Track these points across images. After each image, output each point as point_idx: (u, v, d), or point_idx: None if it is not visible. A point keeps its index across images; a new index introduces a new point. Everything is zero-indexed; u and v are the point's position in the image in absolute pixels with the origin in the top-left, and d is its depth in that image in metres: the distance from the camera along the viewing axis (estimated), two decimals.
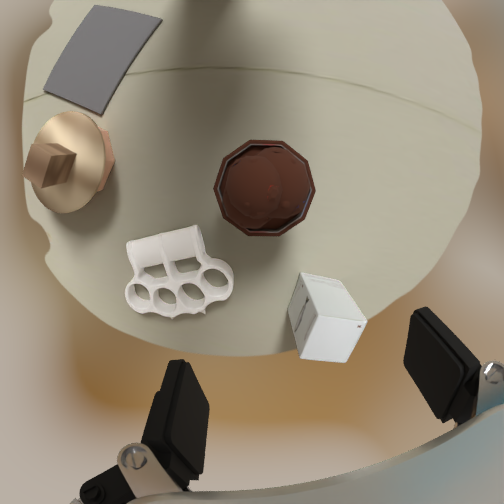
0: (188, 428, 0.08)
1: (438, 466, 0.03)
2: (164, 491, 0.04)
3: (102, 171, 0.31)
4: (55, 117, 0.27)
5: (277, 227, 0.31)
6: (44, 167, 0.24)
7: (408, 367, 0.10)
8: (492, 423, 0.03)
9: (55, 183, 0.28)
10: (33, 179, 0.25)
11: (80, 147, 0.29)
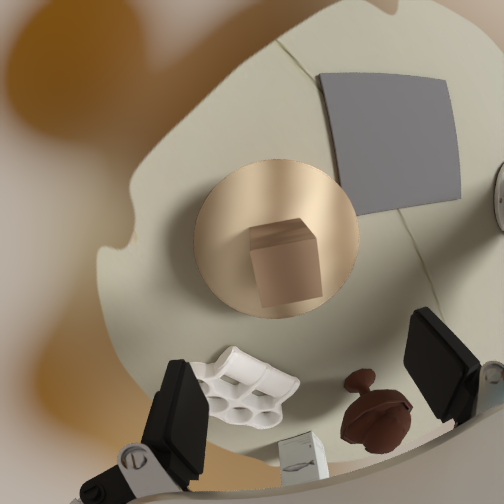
0: (188, 428, 0.08)
1: (438, 466, 0.03)
2: (164, 491, 0.04)
3: None
4: (332, 183, 0.22)
5: None
6: (296, 294, 0.19)
7: (408, 367, 0.10)
8: (492, 423, 0.03)
9: None
10: (263, 285, 0.18)
11: None
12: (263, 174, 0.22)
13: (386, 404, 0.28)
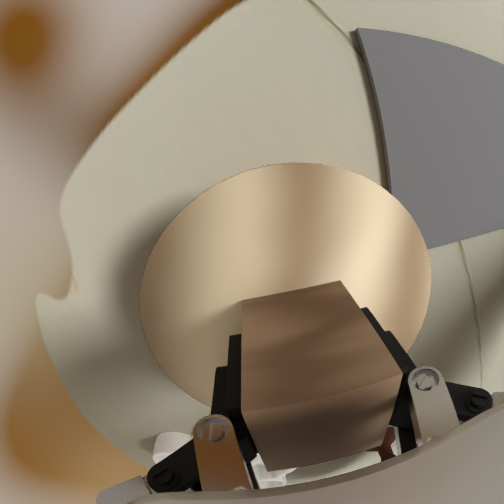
0: None
1: (439, 466, 0.03)
2: (230, 470, 0.05)
3: None
4: (401, 213, 0.11)
5: None
6: (336, 453, 0.07)
7: None
8: (492, 423, 0.03)
9: None
10: (272, 451, 0.07)
11: None
12: (271, 195, 0.10)
13: None
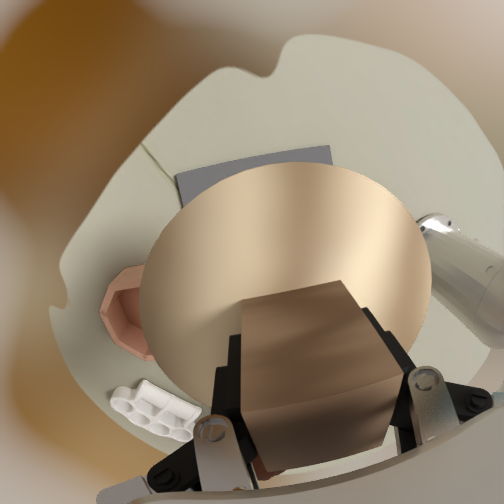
0: None
1: (439, 466, 0.03)
2: (230, 470, 0.05)
3: None
4: (401, 212, 0.11)
5: None
6: (336, 453, 0.07)
7: None
8: (492, 423, 0.03)
9: None
10: (272, 452, 0.07)
11: None
12: (270, 194, 0.10)
13: None
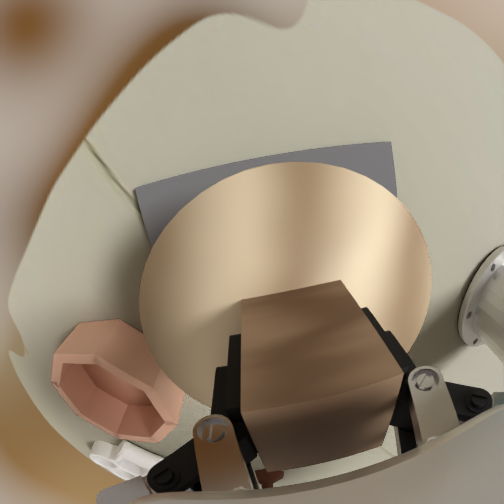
0: None
1: (438, 466, 0.03)
2: (230, 470, 0.05)
3: None
4: (402, 212, 0.11)
5: None
6: (336, 453, 0.07)
7: None
8: (492, 423, 0.03)
9: None
10: (272, 452, 0.07)
11: None
12: (270, 194, 0.10)
13: None
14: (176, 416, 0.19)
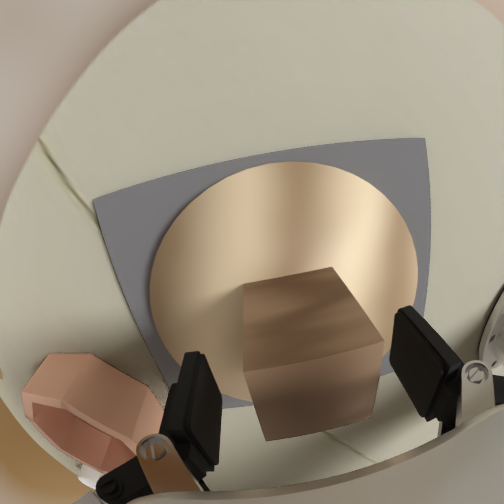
0: (205, 418, 0.08)
1: (438, 466, 0.03)
2: (181, 484, 0.05)
3: None
4: (387, 206, 0.12)
5: None
6: (329, 422, 0.09)
7: (393, 365, 0.10)
8: (492, 423, 0.03)
9: None
10: (270, 417, 0.08)
11: None
12: (269, 189, 0.12)
13: None
14: None
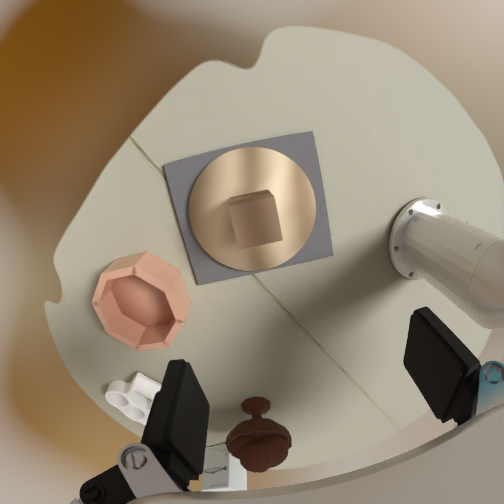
0: (188, 428, 0.08)
1: (438, 466, 0.03)
2: (164, 491, 0.04)
3: None
4: (291, 162, 0.30)
5: None
6: (263, 238, 0.26)
7: (408, 367, 0.10)
8: (492, 423, 0.03)
9: None
10: (239, 231, 0.26)
11: (284, 225, 0.32)
12: (239, 158, 0.29)
13: (259, 432, 0.35)
14: (184, 316, 0.32)
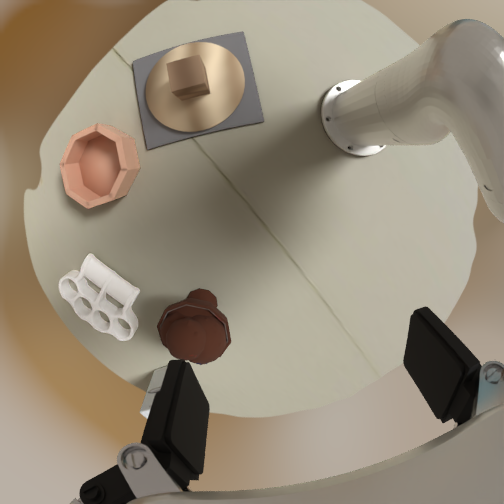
0: (188, 428, 0.08)
1: (438, 466, 0.03)
2: (164, 491, 0.04)
3: (213, 126, 0.36)
4: (224, 49, 0.32)
5: None
6: (189, 82, 0.28)
7: (408, 367, 0.10)
8: (492, 423, 0.03)
9: (178, 96, 0.32)
10: (172, 79, 0.28)
11: (217, 92, 0.34)
12: (185, 49, 0.31)
13: (191, 309, 0.37)
14: (128, 166, 0.34)
